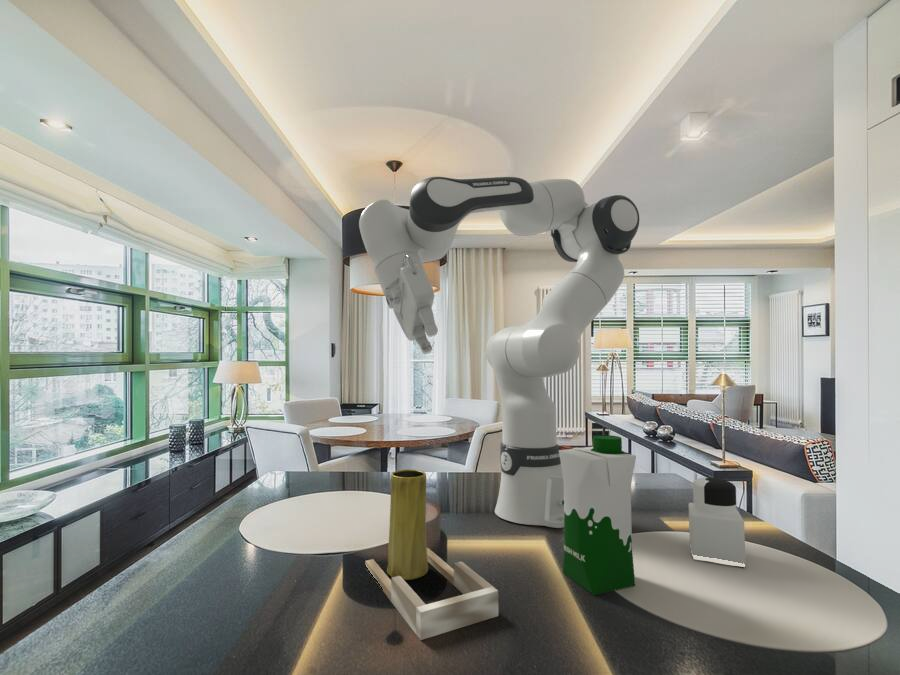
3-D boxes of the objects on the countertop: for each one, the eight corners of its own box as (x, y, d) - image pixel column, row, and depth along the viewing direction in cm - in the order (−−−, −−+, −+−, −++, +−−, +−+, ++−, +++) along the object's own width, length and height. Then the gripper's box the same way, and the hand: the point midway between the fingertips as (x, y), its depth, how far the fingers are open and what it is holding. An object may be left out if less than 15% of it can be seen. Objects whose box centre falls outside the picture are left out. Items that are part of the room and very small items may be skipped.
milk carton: (645, 588, 62) (642, 440, 63) (592, 600, 59) (589, 445, 60) (601, 561, 70) (599, 431, 71) (552, 571, 67) (551, 435, 68)
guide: (427, 553, 73) (428, 534, 73) (498, 615, 55) (498, 590, 55) (365, 567, 68) (365, 547, 68) (420, 640, 50) (420, 612, 50)
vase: (422, 582, 63) (422, 479, 64) (380, 578, 64) (381, 477, 65) (432, 564, 69) (433, 469, 70) (394, 560, 70) (395, 467, 71)
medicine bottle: (738, 551, 74) (736, 477, 75) (746, 569, 68) (743, 488, 68) (689, 543, 77) (687, 472, 78) (692, 560, 71) (690, 482, 71)
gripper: (423, 244, 76) (455, 315, 72) (415, 296, 95) (440, 355, 91) (387, 254, 74) (418, 328, 70) (386, 305, 93) (410, 366, 89)
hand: (430, 344), depth 81 cm, fingers open, 8 cm apart
